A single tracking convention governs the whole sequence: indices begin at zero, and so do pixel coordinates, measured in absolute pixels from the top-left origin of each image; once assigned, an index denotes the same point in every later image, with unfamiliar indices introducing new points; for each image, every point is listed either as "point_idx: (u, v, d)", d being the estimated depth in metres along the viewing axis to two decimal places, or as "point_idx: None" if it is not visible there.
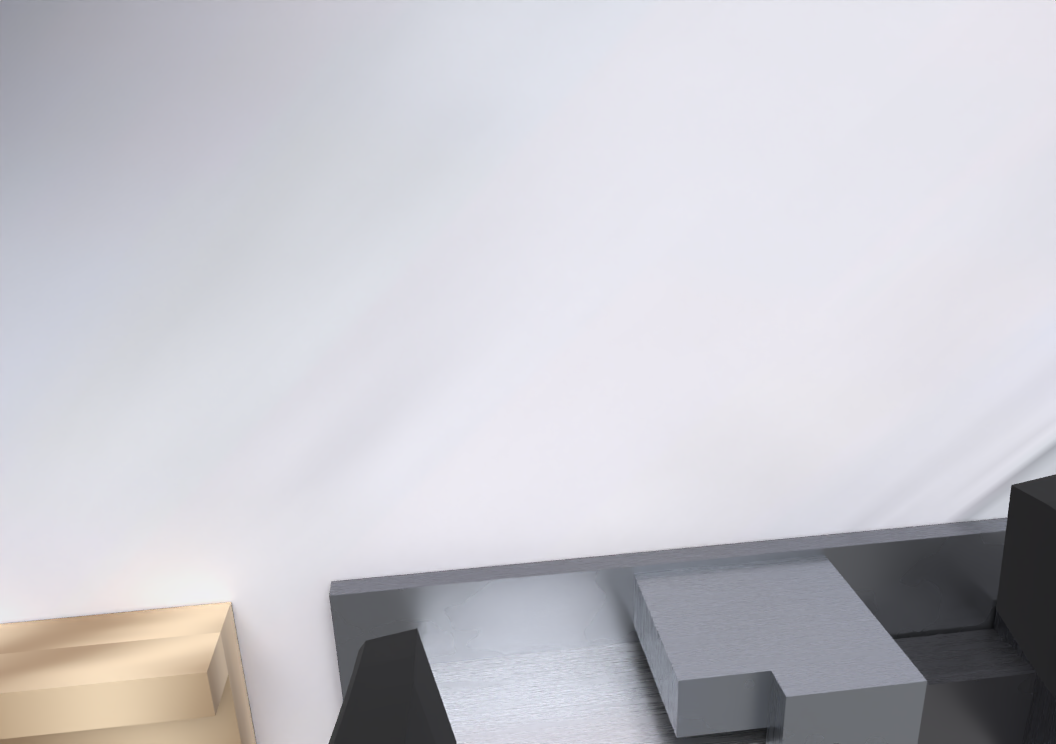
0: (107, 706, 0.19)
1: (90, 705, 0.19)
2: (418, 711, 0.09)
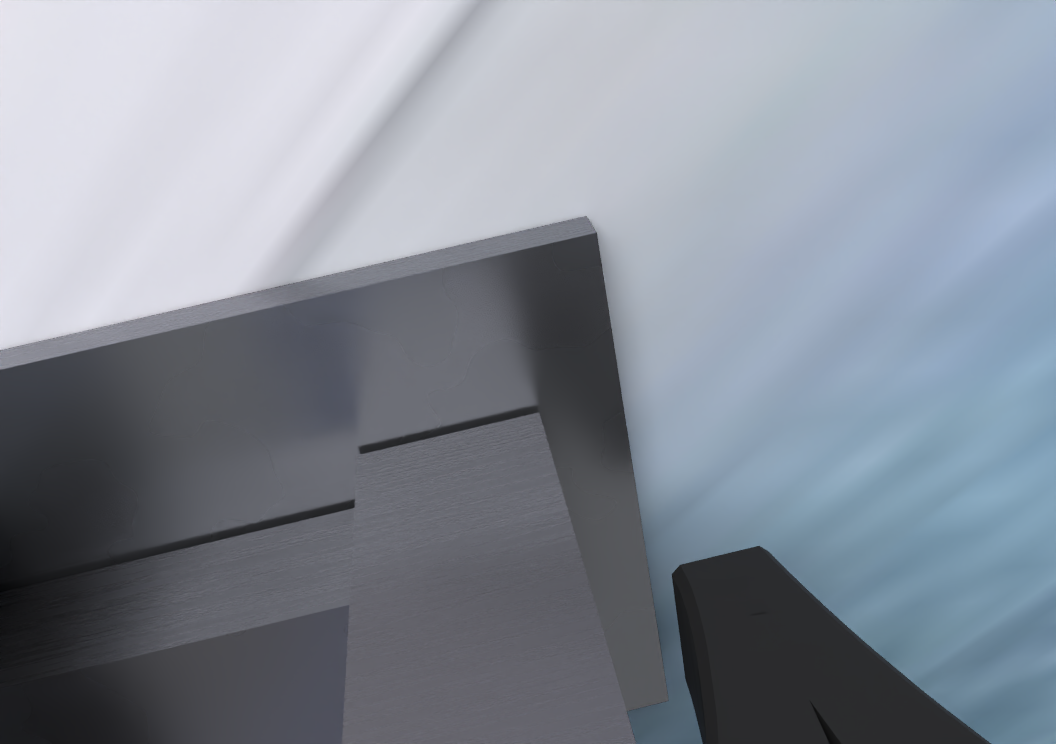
0: None
1: None
2: None
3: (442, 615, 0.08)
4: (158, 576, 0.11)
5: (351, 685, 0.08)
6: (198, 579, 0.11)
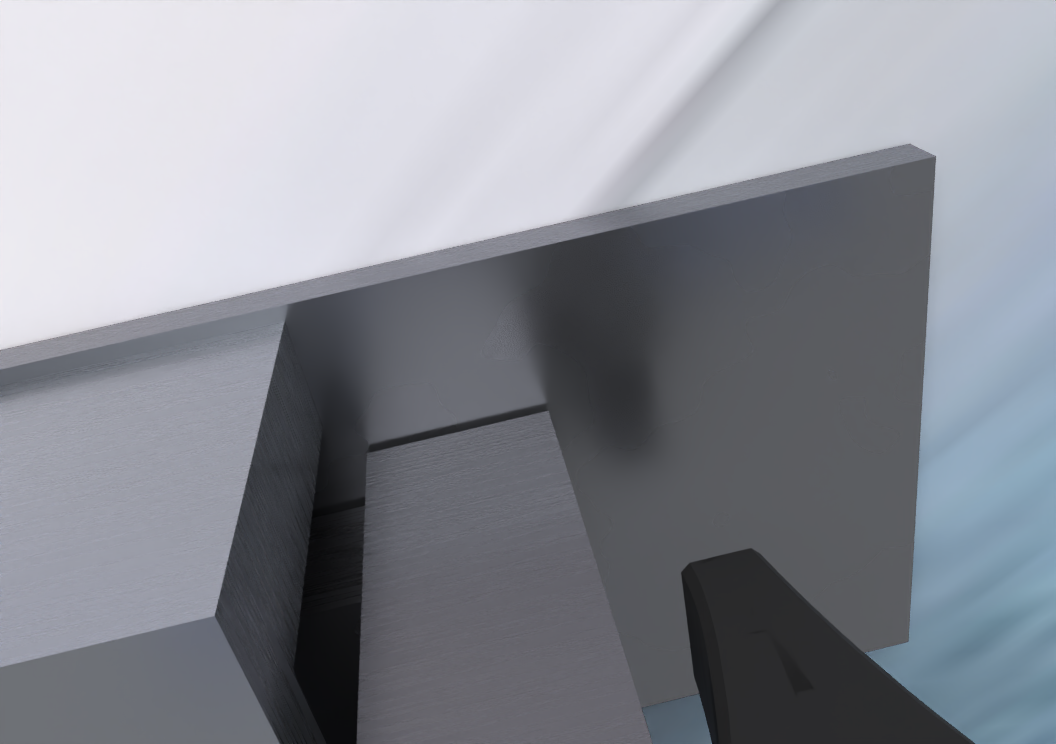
0: None
1: None
2: None
3: (455, 613, 0.08)
4: None
5: (365, 682, 0.08)
6: None
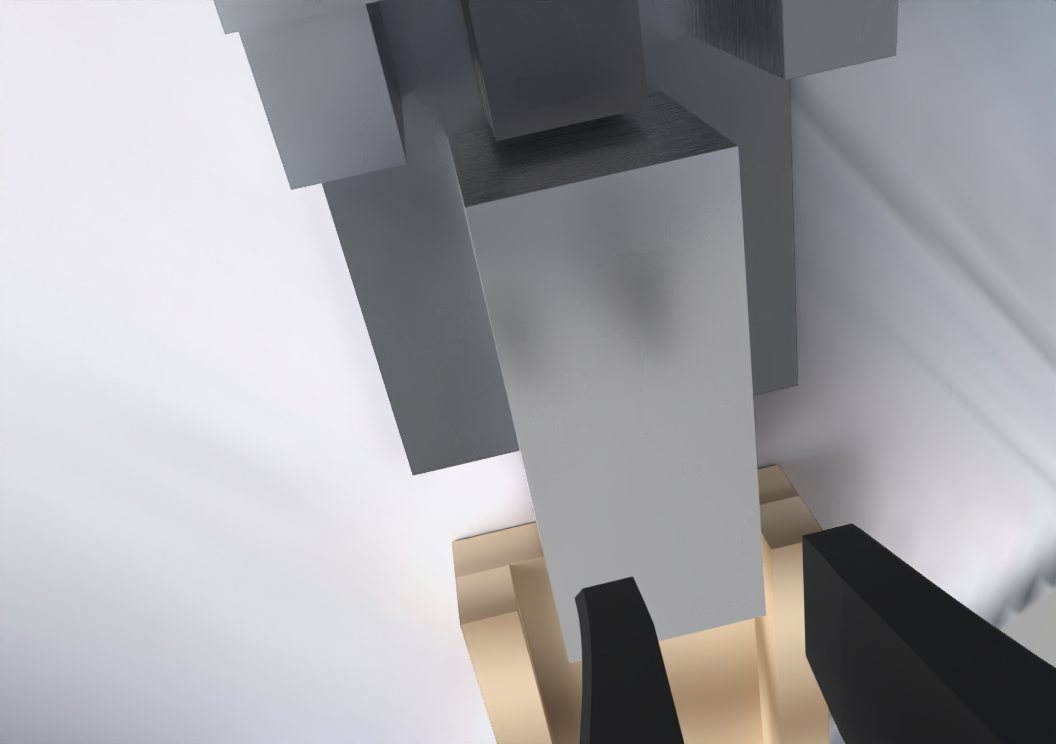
0: (510, 689, 0.19)
1: (510, 700, 0.19)
2: (658, 652, 0.09)
3: None
4: None
5: None
6: None
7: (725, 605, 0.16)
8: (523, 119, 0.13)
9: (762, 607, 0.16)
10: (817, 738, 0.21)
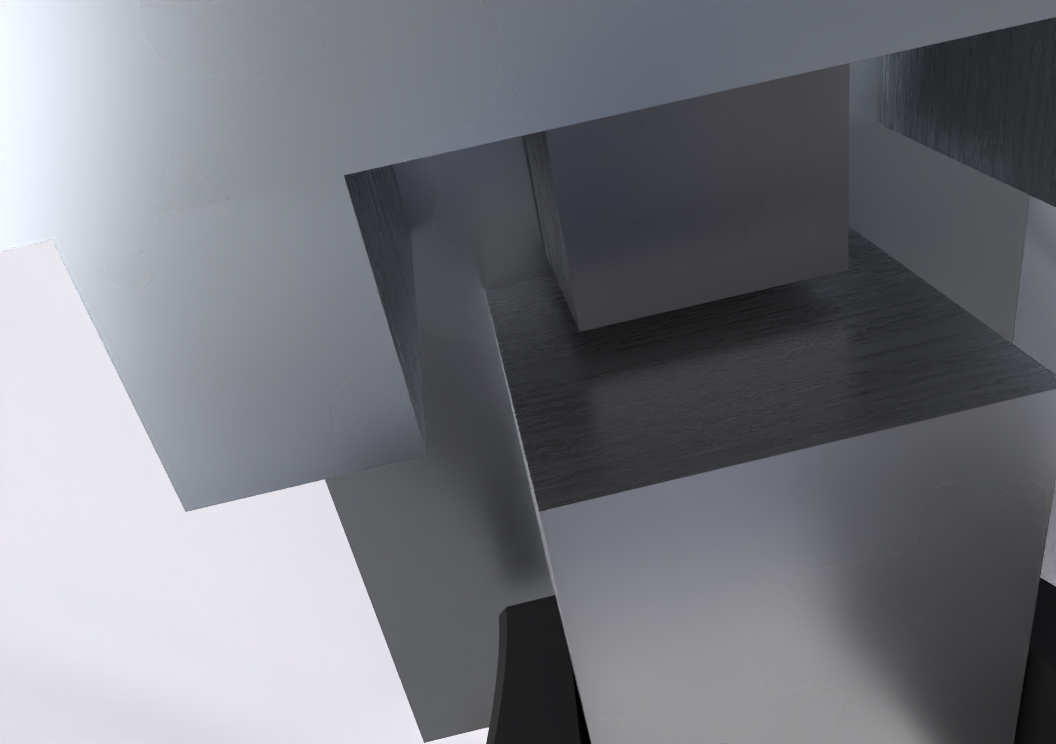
0: None
1: None
2: None
3: None
4: None
5: None
6: None
7: None
8: (629, 295, 0.07)
9: None
10: None
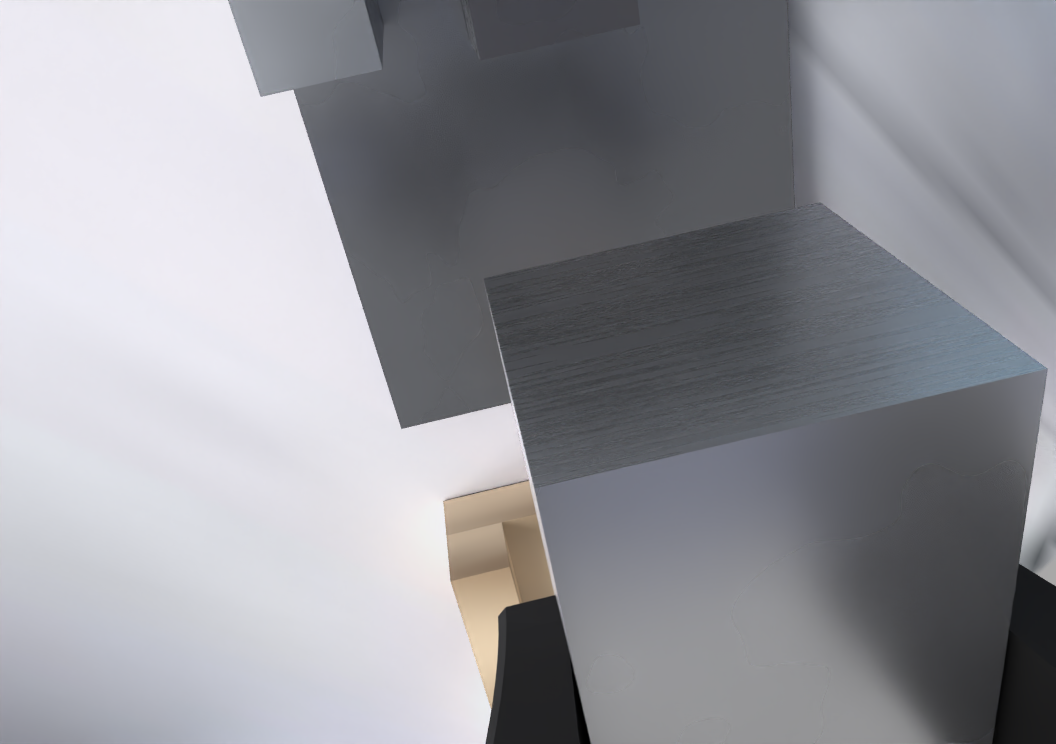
0: None
1: None
2: None
3: None
4: None
5: None
6: None
7: None
8: (508, 37, 0.12)
9: None
10: None
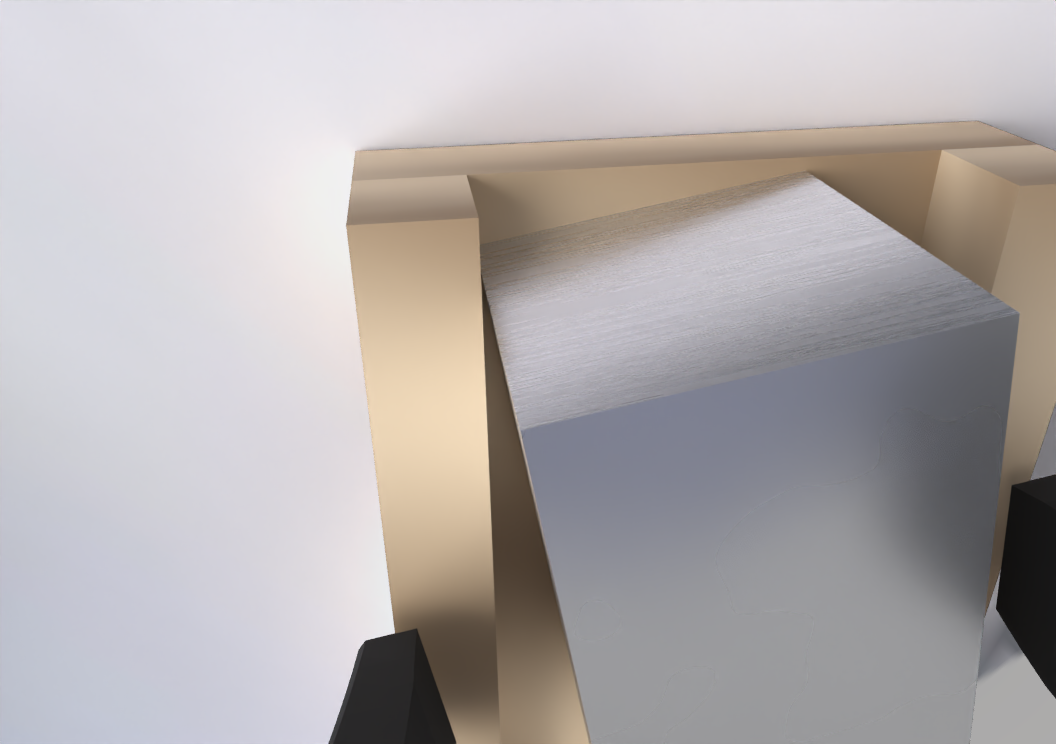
0: (431, 425, 0.09)
1: (427, 453, 0.09)
2: (418, 711, 0.09)
3: None
4: None
5: None
6: None
7: None
8: None
9: None
10: None
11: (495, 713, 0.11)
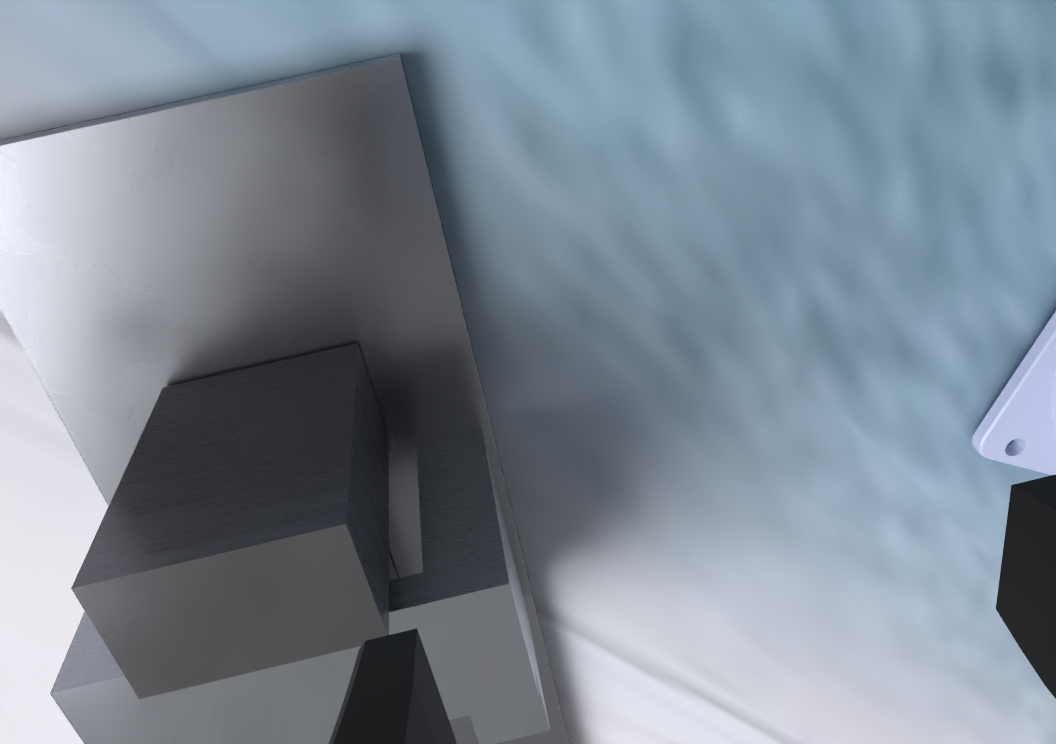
0: None
1: None
2: (418, 711, 0.09)
3: None
4: None
5: None
6: None
7: None
8: None
9: None
10: None
11: None
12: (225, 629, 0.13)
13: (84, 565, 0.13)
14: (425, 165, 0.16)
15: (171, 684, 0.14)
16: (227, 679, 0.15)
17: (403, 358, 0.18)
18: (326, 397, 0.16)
